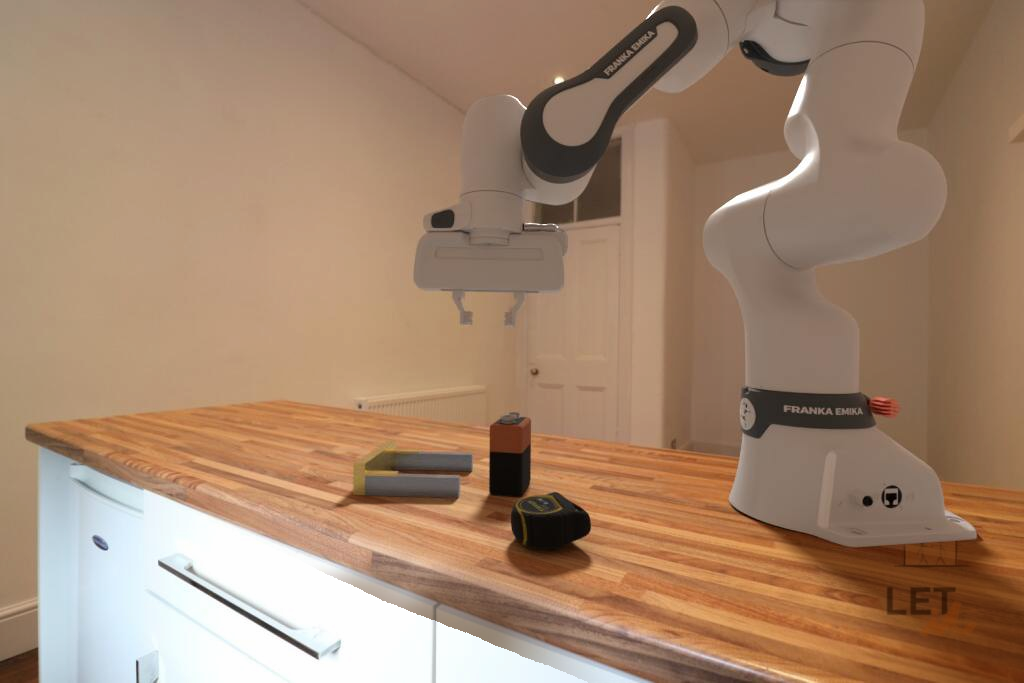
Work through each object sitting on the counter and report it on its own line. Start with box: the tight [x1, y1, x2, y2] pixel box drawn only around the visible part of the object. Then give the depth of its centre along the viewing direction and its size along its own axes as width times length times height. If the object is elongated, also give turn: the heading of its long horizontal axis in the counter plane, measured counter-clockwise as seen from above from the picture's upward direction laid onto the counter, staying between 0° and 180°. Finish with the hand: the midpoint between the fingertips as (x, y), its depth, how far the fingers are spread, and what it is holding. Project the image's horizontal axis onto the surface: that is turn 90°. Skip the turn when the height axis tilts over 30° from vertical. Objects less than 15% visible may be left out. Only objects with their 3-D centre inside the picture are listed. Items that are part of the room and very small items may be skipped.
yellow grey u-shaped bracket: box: [352, 440, 474, 499], centre depth 63 cm, size 14×12×4 cm
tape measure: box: [510, 491, 592, 550], centre depth 44 cm, size 7×7×4 cm
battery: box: [488, 411, 532, 498], centre depth 60 cm, size 4×7×10 cm, turn 167°
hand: (488, 325), depth 61 cm, fingers open, 5 cm apart
